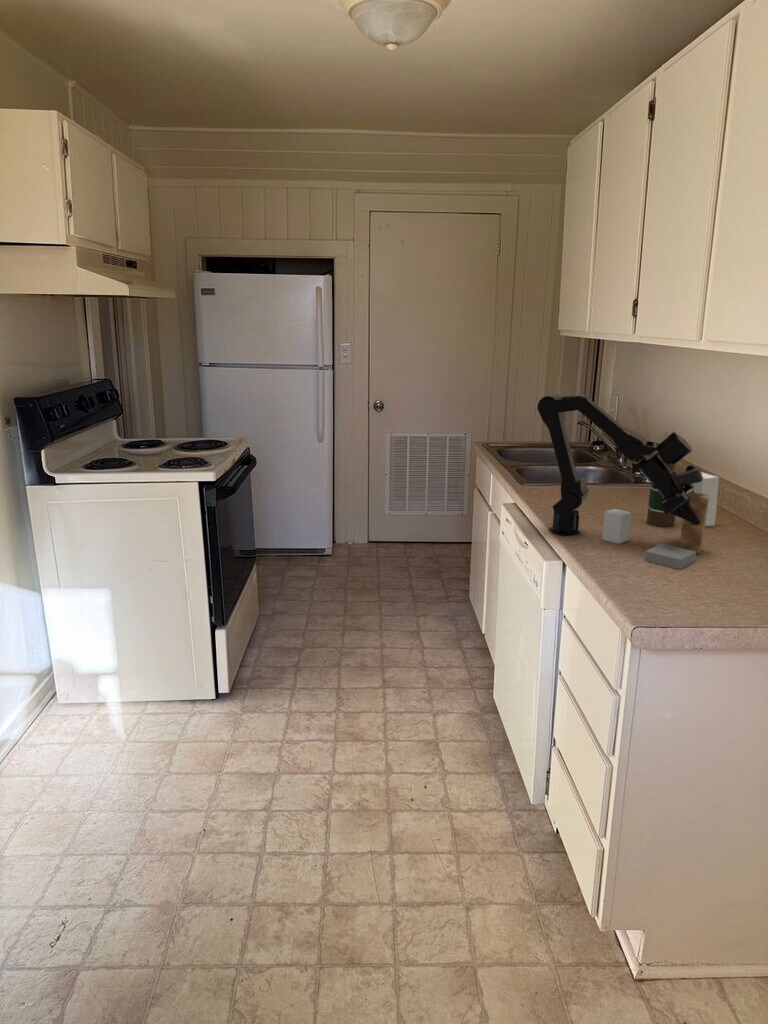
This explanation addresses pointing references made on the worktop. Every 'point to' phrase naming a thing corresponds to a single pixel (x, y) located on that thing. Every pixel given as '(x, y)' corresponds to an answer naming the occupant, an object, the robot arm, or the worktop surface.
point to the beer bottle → (659, 507)
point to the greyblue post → (616, 526)
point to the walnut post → (692, 532)
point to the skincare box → (709, 487)
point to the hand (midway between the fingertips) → (699, 521)
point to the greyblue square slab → (670, 556)
